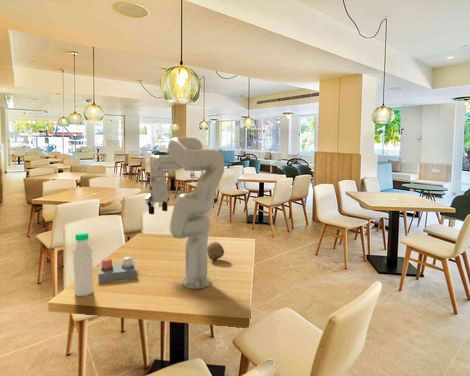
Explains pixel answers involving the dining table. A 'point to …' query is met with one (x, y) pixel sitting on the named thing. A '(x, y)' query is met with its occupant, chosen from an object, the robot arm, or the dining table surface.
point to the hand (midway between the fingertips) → (158, 212)
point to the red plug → (106, 264)
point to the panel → (116, 273)
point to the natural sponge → (215, 251)
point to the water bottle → (83, 266)
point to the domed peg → (127, 262)
